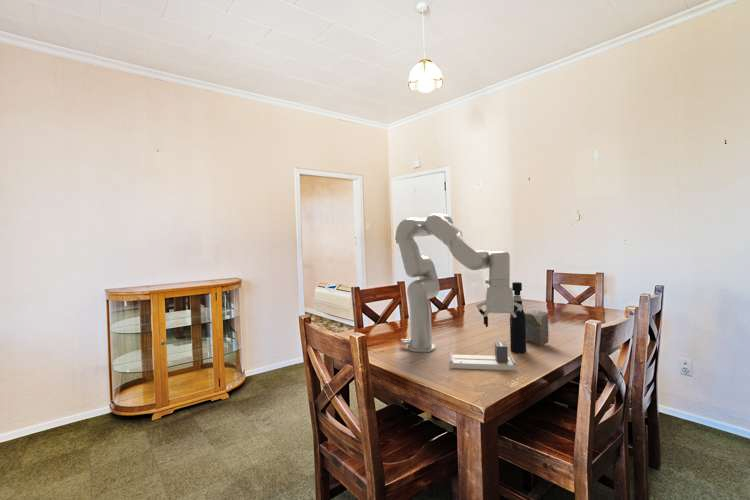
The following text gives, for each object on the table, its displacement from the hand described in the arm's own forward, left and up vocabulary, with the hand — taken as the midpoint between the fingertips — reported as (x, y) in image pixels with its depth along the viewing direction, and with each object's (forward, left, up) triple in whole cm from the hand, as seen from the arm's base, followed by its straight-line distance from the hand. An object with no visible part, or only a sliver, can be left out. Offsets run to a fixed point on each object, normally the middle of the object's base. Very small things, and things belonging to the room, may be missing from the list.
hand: (499, 326), depth 141 cm
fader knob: (0, 0, -13) cm, 13 cm away
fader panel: (-7, 0, -15) cm, 17 cm away
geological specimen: (+20, +32, -16) cm, 41 cm away
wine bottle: (+10, +18, -16) cm, 26 cm away
